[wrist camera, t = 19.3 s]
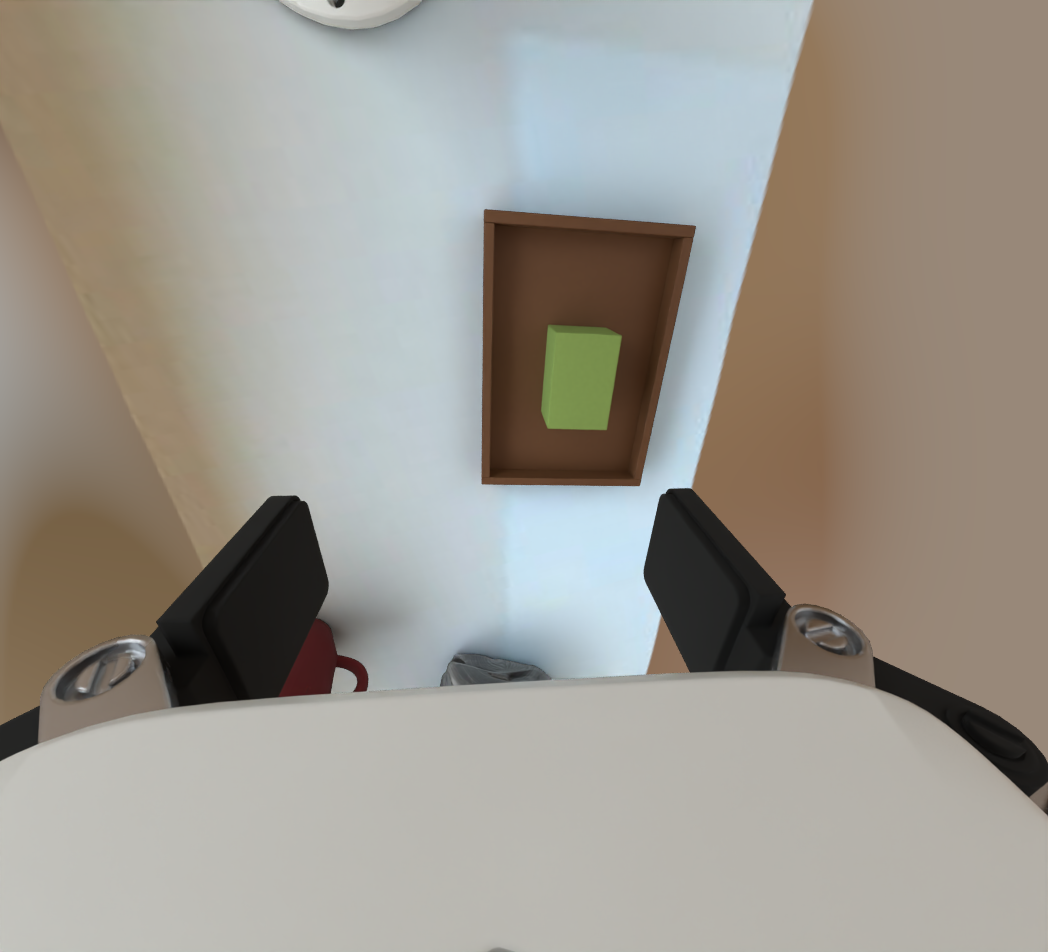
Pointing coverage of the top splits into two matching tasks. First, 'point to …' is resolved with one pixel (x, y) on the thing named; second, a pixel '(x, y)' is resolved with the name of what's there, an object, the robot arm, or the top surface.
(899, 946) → the robot arm
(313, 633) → the mug
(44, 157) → the top surface
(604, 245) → the tray
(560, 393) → the green block
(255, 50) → the top surface
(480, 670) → the decorative stone
